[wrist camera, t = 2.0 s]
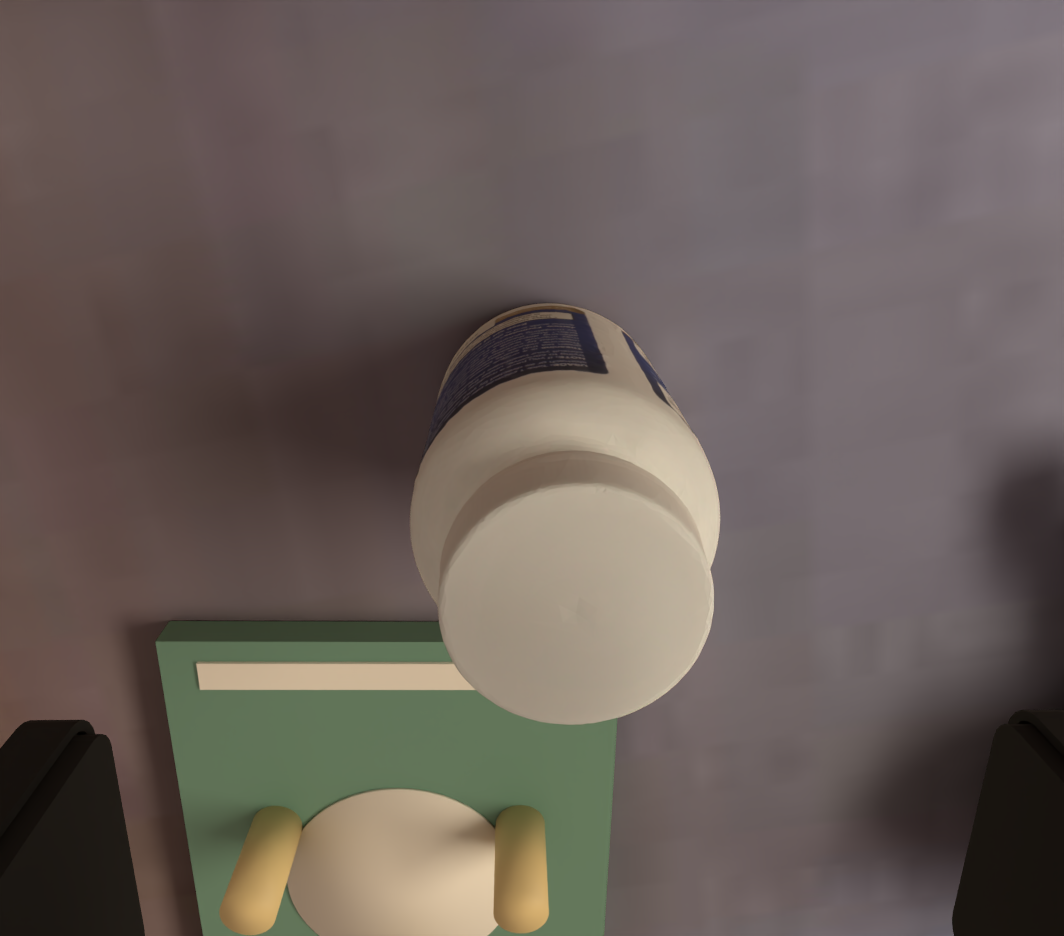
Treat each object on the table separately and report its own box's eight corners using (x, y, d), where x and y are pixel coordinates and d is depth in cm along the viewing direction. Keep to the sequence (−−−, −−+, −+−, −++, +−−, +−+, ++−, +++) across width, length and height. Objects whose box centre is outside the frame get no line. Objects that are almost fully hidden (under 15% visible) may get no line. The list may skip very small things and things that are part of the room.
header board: (169, 621, 23) (104, 714, 20) (617, 622, 24) (637, 714, 20) (233, 1038, 29) (192, 1171, 25) (593, 1034, 29) (605, 1166, 26)
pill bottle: (407, 463, 22) (333, 700, 13) (488, 262, 20) (469, 373, 11) (602, 538, 23) (662, 810, 14) (696, 352, 21) (836, 522, 12)
